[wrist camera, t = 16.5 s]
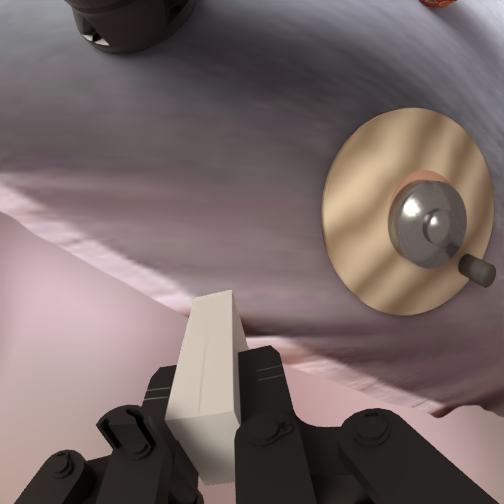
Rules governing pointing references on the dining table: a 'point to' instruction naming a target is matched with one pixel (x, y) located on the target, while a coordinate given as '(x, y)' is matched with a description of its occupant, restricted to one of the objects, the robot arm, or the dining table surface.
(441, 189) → the cover
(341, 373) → the dining table surface
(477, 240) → the turntable
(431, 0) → the smoothie
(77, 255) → the dining table surface
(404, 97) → the dining table surface
